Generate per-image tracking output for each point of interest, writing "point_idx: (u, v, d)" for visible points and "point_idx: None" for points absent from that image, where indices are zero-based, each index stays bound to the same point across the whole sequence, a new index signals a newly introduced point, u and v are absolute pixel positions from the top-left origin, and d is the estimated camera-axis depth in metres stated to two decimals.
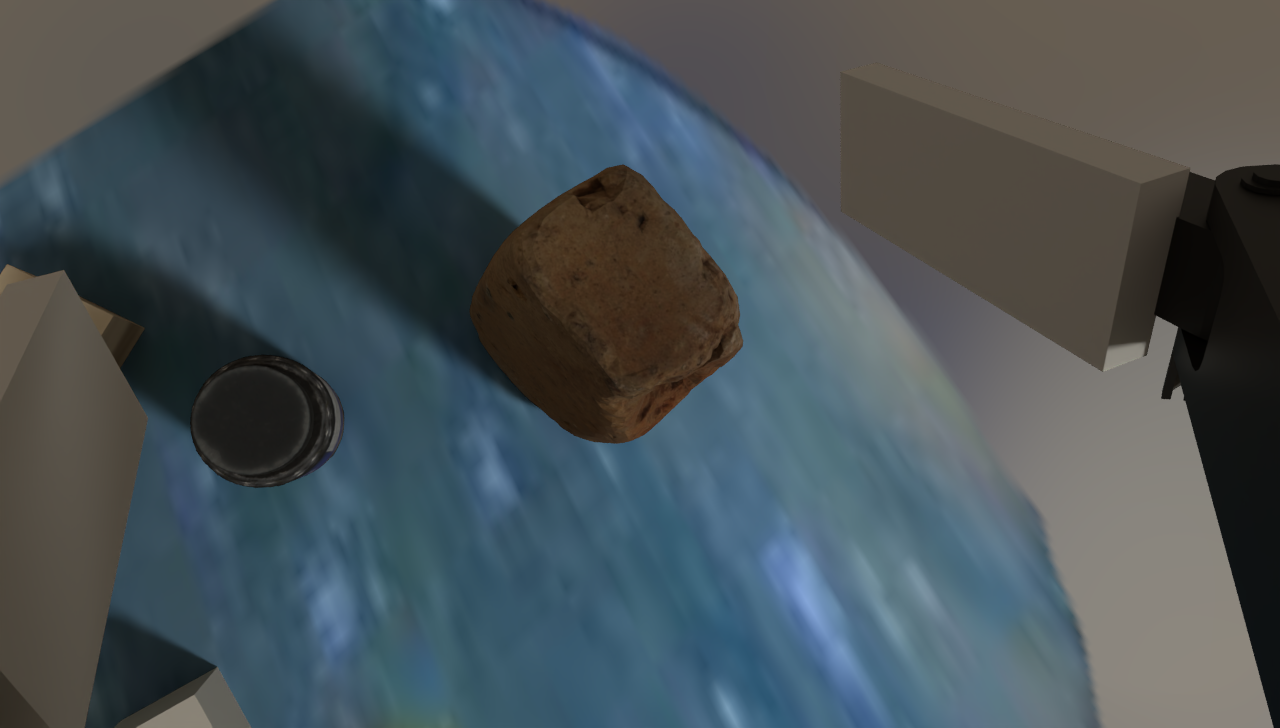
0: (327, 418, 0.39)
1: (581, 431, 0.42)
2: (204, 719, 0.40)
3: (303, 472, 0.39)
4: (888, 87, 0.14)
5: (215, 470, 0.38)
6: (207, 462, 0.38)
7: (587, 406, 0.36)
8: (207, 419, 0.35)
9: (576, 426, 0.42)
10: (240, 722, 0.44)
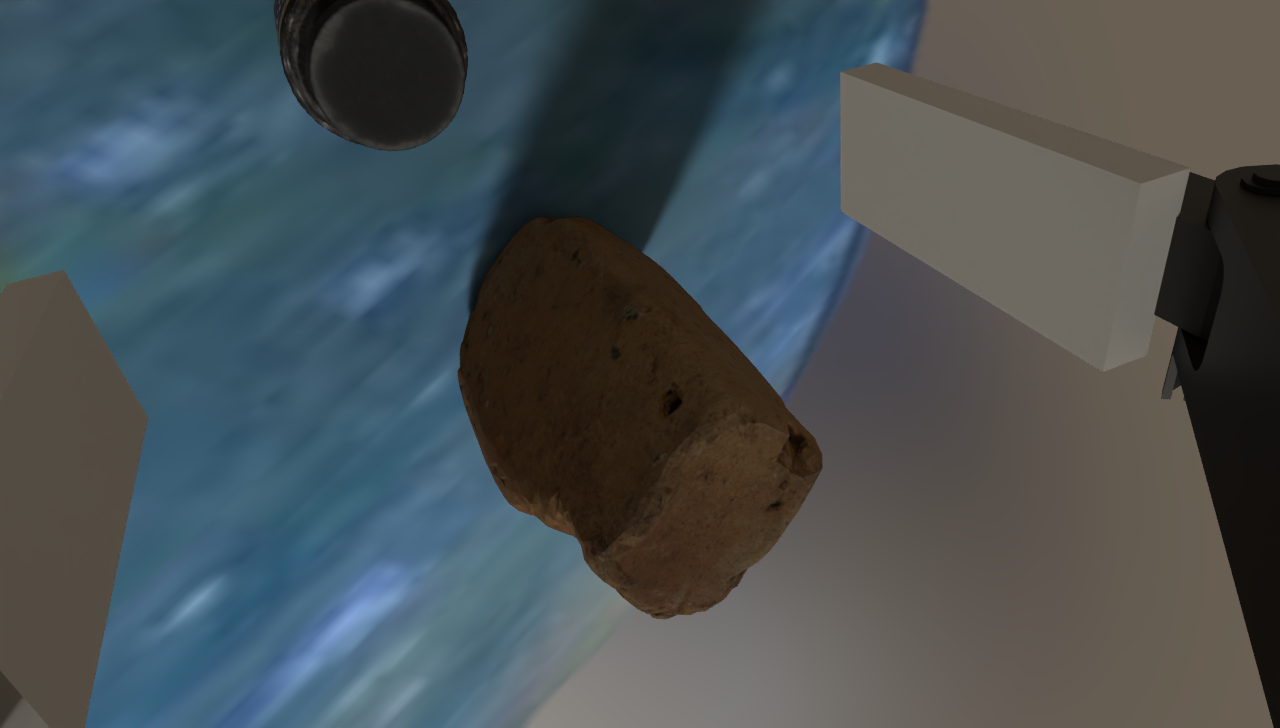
0: None
1: (482, 411, 0.36)
2: None
3: (327, 128, 0.29)
4: (888, 86, 0.14)
5: (290, 17, 0.27)
6: (298, 3, 0.27)
7: (537, 465, 0.31)
8: (372, 19, 0.25)
9: (487, 406, 0.36)
10: None
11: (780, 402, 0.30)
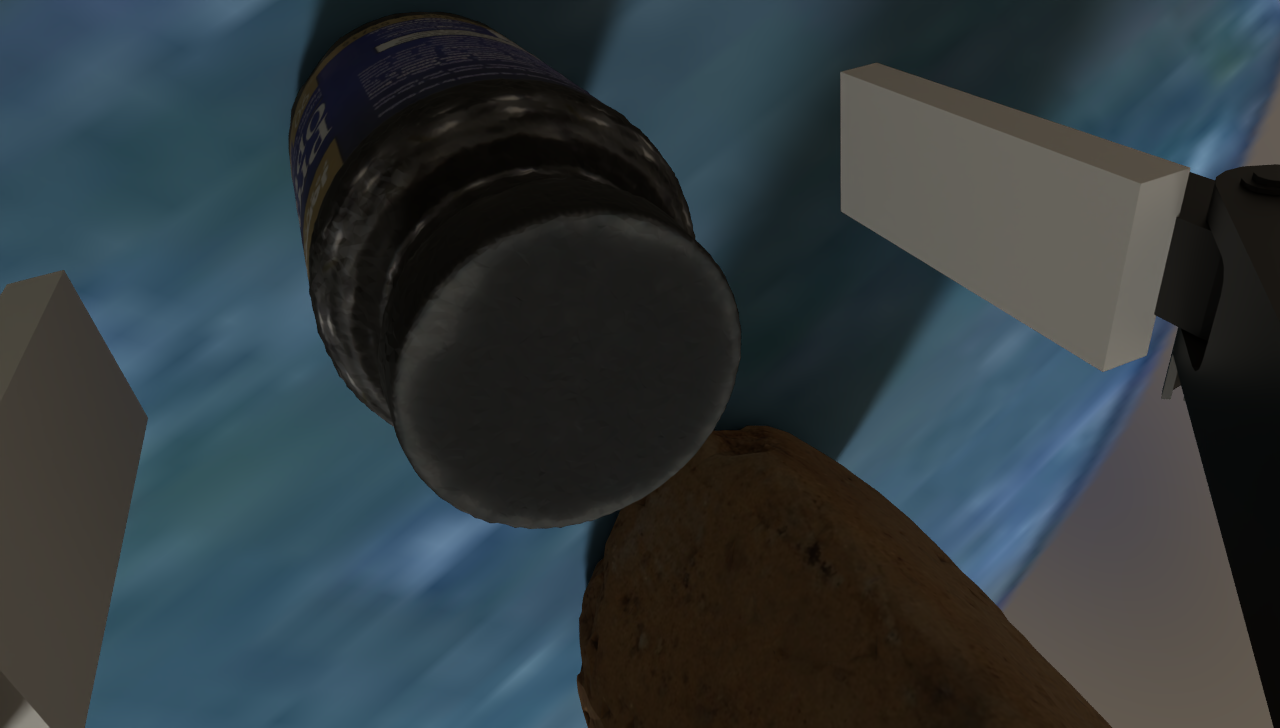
0: None
1: None
2: None
3: None
4: (888, 86, 0.14)
5: (337, 229, 0.12)
6: (354, 199, 0.11)
7: None
8: (552, 268, 0.10)
9: None
10: None
11: None
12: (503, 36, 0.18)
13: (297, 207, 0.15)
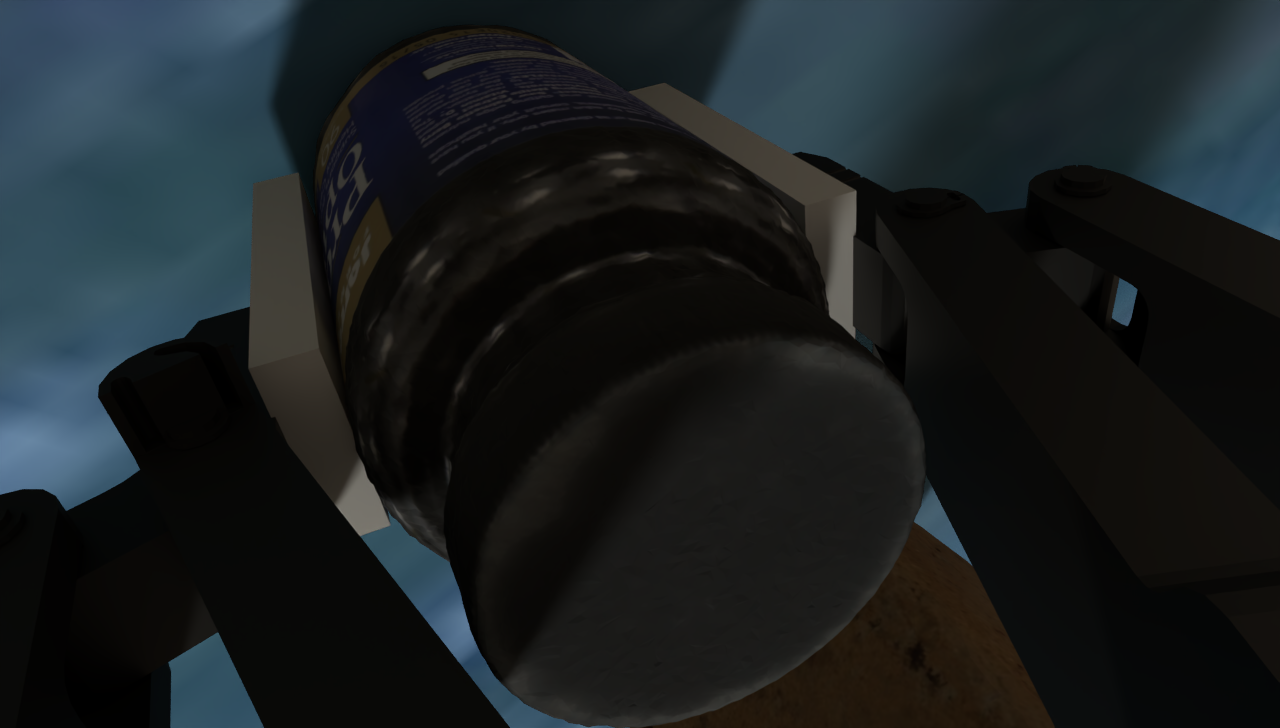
0: None
1: None
2: None
3: None
4: (658, 106, 0.15)
5: (385, 330, 0.09)
6: (410, 292, 0.09)
7: None
8: (698, 415, 0.07)
9: None
10: None
11: None
12: (570, 55, 0.15)
13: (326, 270, 0.12)
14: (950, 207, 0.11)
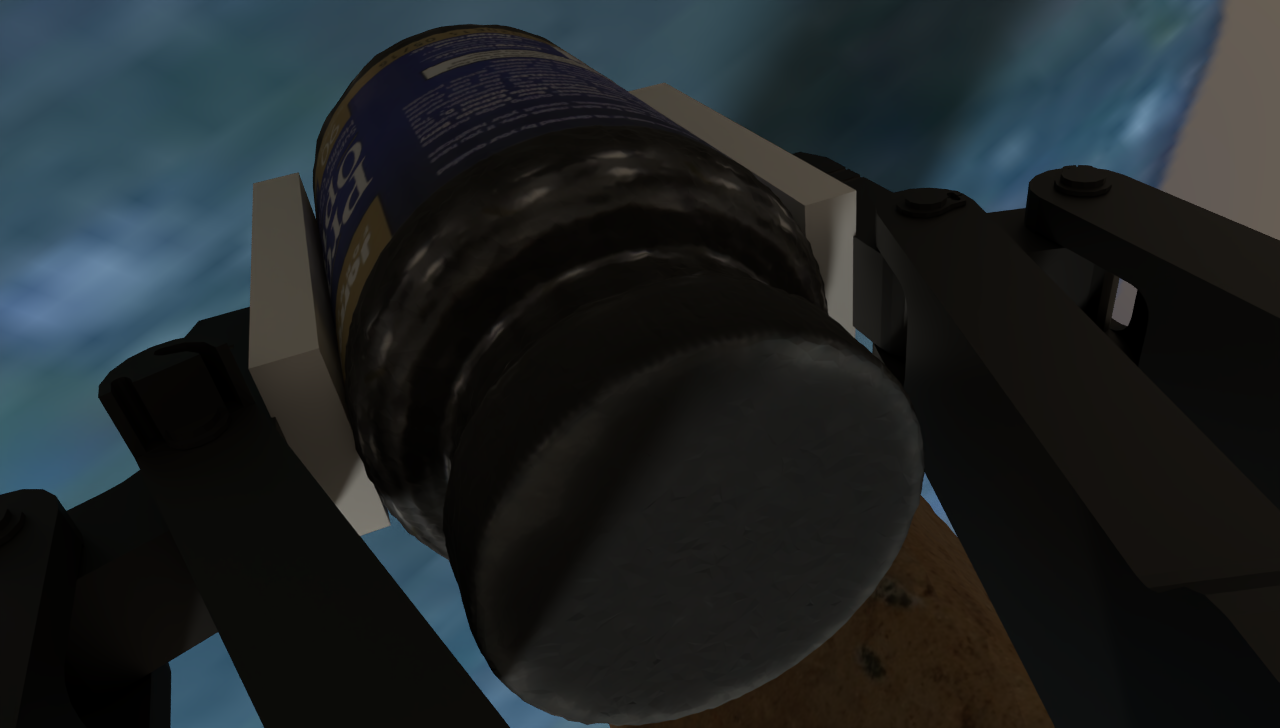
0: None
1: None
2: None
3: None
4: (658, 106, 0.15)
5: (385, 329, 0.09)
6: (410, 291, 0.09)
7: None
8: (697, 413, 0.07)
9: None
10: None
11: None
12: (570, 54, 0.15)
13: (326, 269, 0.12)
14: (950, 207, 0.11)
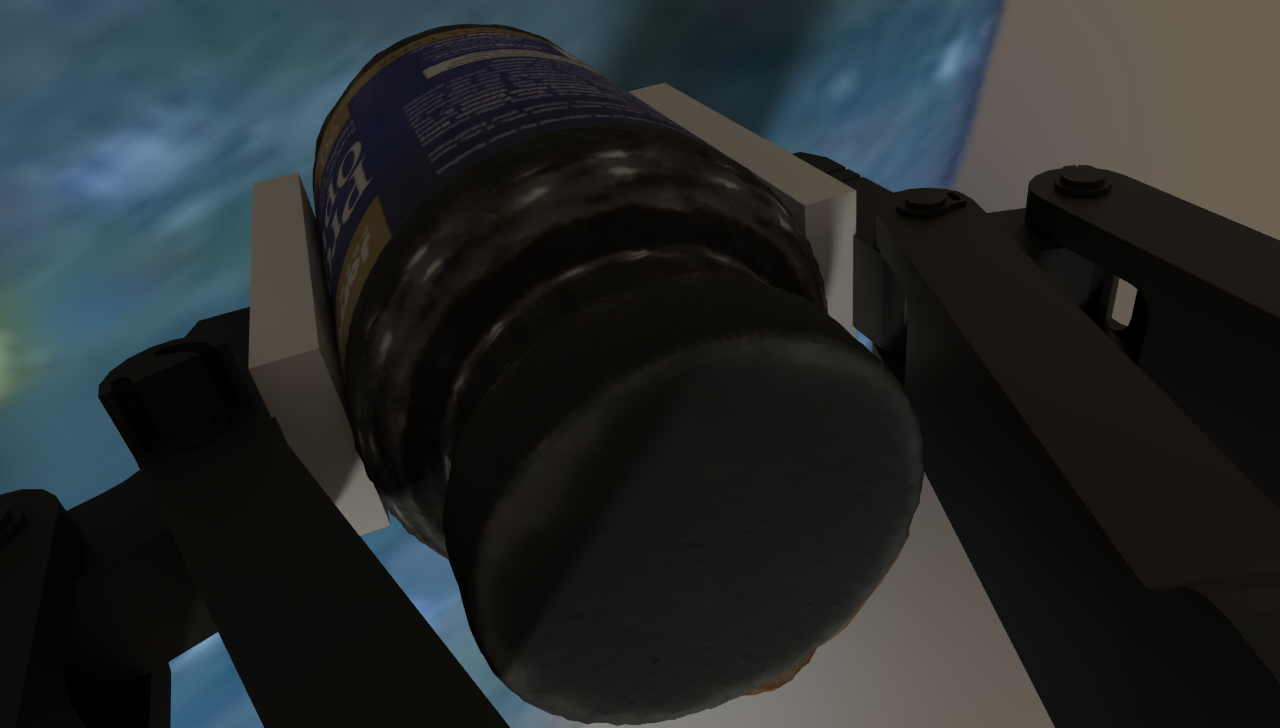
0: None
1: None
2: None
3: None
4: (658, 106, 0.15)
5: (385, 328, 0.09)
6: (409, 290, 0.09)
7: None
8: (697, 412, 0.07)
9: None
10: None
11: None
12: (570, 54, 0.15)
13: (325, 269, 0.12)
14: (951, 207, 0.10)
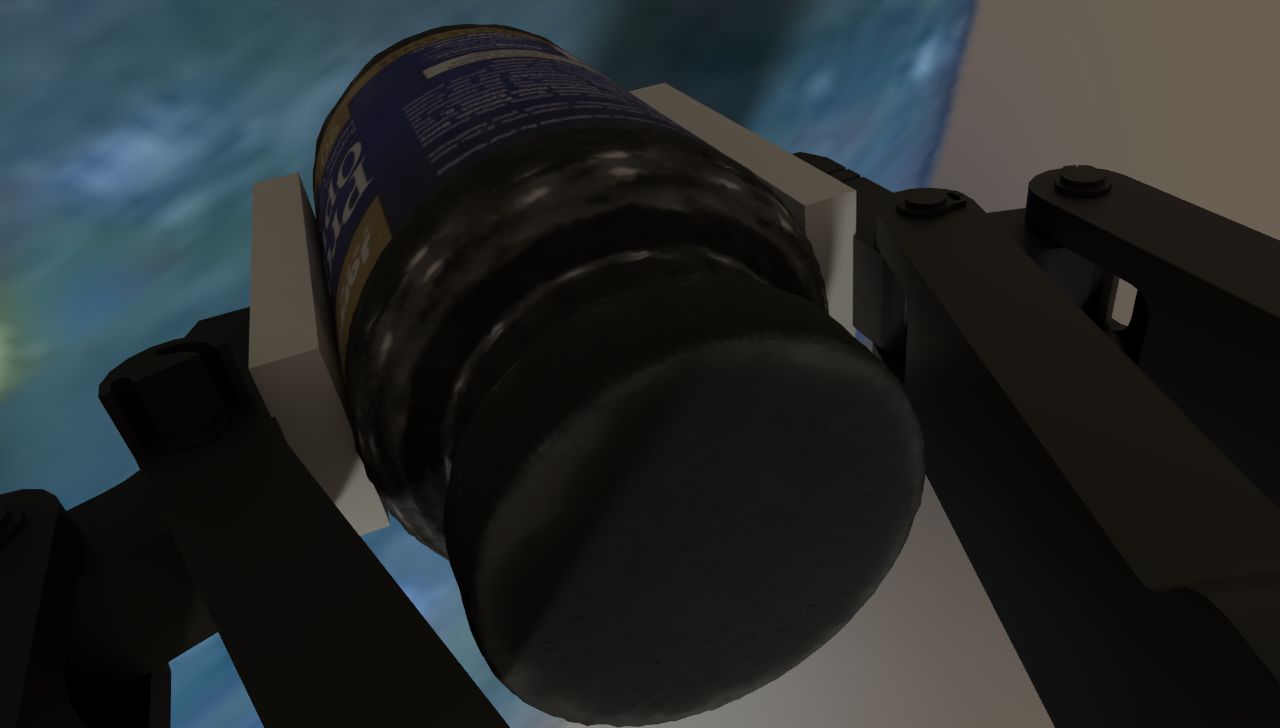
0: None
1: None
2: None
3: None
4: (658, 106, 0.15)
5: (385, 329, 0.09)
6: (410, 291, 0.09)
7: None
8: (698, 413, 0.07)
9: None
10: None
11: None
12: (570, 54, 0.15)
13: (325, 269, 0.12)
14: (950, 207, 0.11)
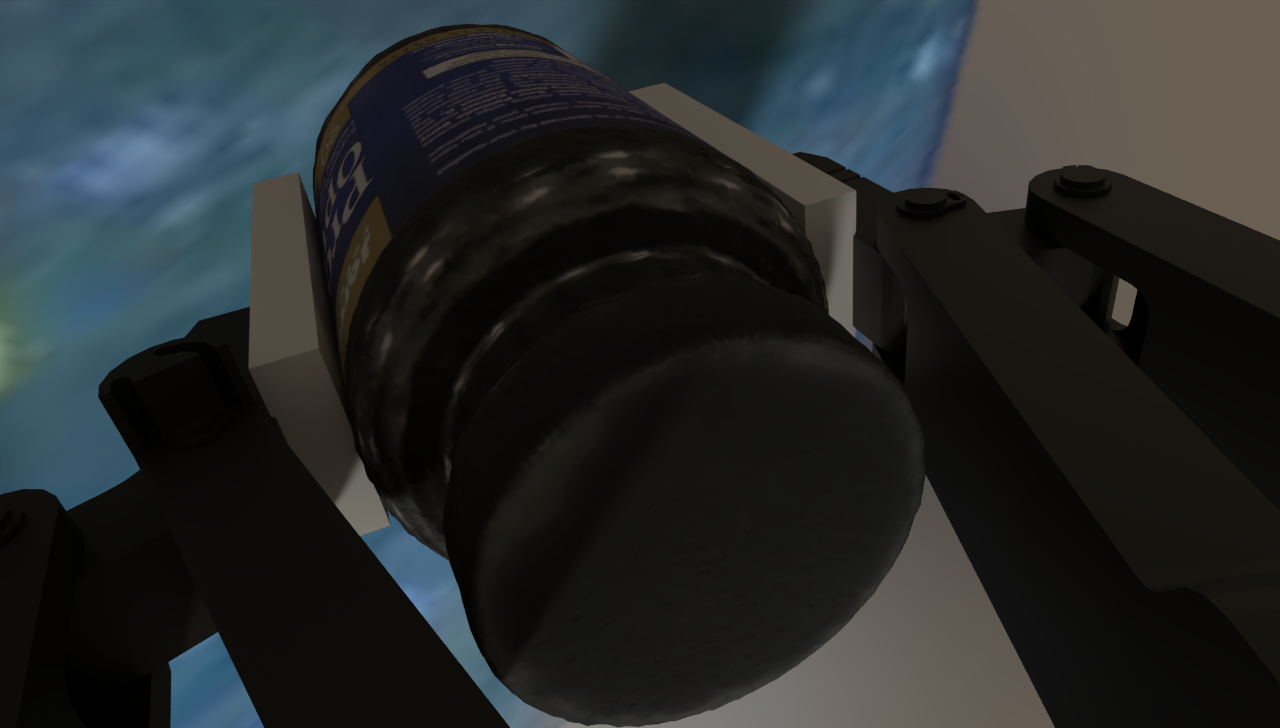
0: None
1: None
2: None
3: None
4: (658, 106, 0.15)
5: (385, 329, 0.09)
6: (410, 291, 0.09)
7: None
8: (698, 413, 0.07)
9: None
10: None
11: None
12: (570, 54, 0.15)
13: (325, 269, 0.12)
14: (950, 207, 0.11)
